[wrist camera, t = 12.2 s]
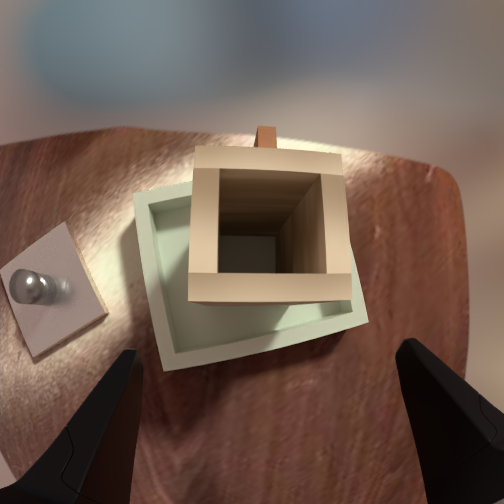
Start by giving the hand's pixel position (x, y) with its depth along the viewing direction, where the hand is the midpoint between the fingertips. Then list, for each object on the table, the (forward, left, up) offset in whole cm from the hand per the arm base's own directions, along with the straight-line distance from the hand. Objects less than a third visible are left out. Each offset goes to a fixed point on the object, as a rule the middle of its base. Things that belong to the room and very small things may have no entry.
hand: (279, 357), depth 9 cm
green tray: (+5, -1, -13) cm, 14 cm away
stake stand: (+6, +15, -13) cm, 21 cm away
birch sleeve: (+5, -1, -12) cm, 13 cm away
